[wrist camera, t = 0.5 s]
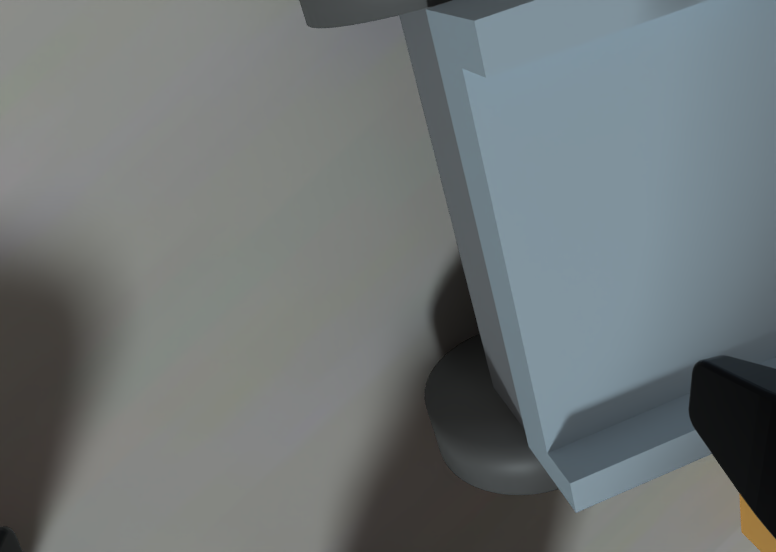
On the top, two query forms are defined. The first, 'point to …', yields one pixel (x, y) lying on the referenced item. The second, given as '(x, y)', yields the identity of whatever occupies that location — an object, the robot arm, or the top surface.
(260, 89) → the top surface
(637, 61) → the trolley
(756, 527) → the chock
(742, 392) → the robot arm
